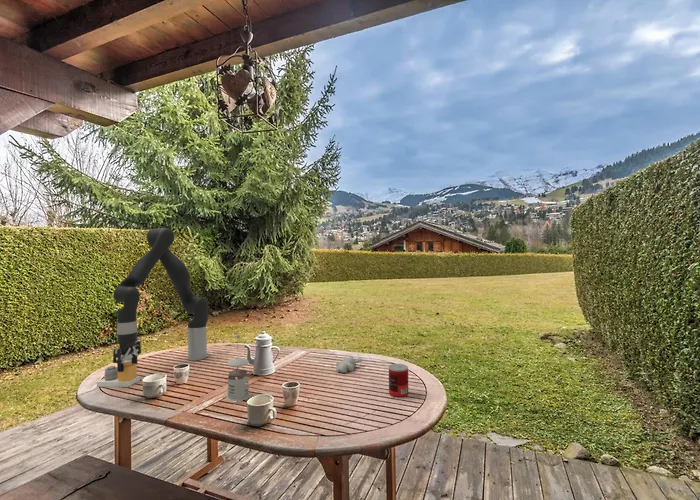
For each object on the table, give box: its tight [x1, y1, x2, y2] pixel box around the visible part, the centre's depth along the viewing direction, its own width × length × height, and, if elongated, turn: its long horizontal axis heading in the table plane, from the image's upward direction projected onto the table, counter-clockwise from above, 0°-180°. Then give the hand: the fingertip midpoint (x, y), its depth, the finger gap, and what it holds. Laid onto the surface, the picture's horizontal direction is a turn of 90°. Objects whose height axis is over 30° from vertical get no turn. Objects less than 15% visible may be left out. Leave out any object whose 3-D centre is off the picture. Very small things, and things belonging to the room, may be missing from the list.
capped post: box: [104, 365, 118, 381], centre depth 155 cm, size 5×5×5 cm
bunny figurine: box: [335, 355, 363, 374], centre depth 171 cm, size 10×5×15 cm
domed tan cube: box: [118, 362, 138, 381], centre depth 155 cm, size 5×5×7 cm
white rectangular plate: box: [96, 375, 141, 388], centre depth 155 cm, size 8×14×2 cm, turn 86°
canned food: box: [388, 363, 409, 398], centre depth 140 cm, size 8×8×11 cm
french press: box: [225, 333, 252, 402], centre depth 140 cm, size 10×12×25 cm
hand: (127, 368), depth 155 cm, fingers open, 8 cm apart
